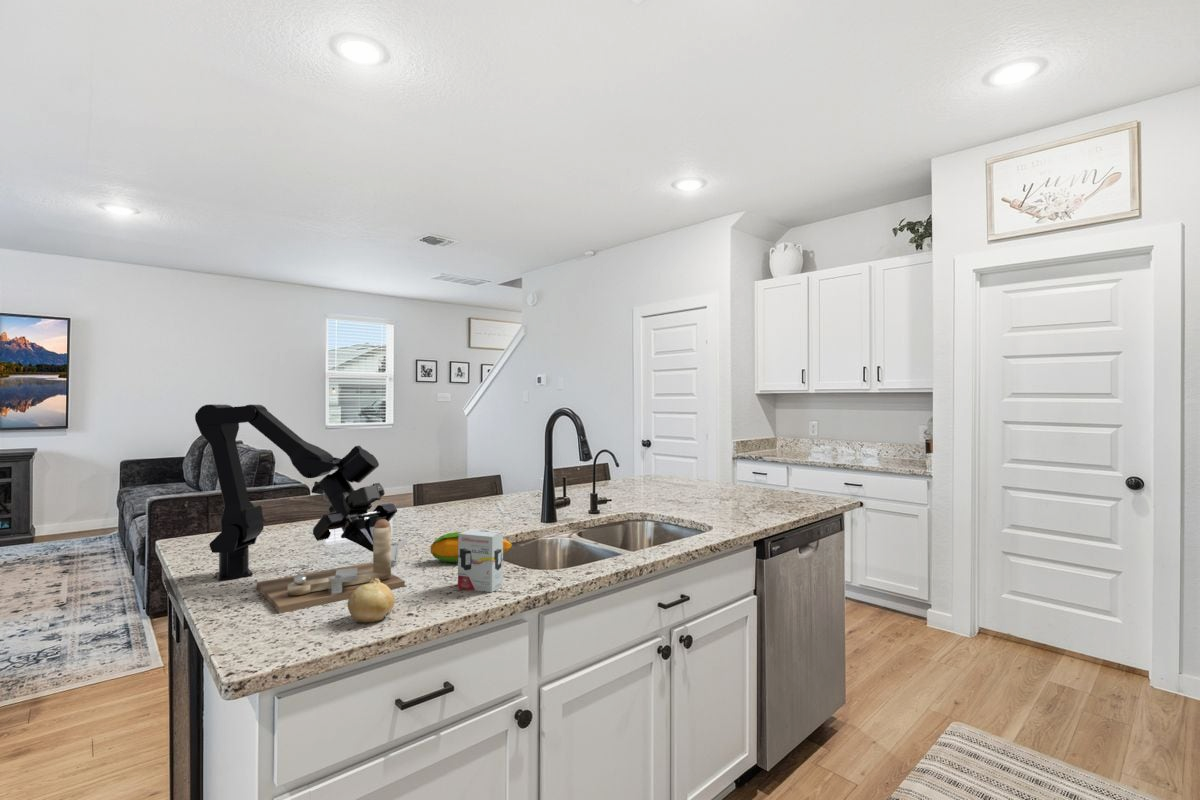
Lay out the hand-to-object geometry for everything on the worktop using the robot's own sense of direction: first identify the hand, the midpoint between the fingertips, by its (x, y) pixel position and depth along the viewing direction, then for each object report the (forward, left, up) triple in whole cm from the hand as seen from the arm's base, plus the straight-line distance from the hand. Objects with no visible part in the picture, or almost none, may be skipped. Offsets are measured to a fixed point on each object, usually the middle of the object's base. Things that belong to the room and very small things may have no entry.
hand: (375, 550), depth 126 cm
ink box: (+18, +16, -7) cm, 25 cm away
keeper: (+3, -10, -6) cm, 12 cm away
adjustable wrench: (-22, +12, -8) cm, 26 cm away
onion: (+21, -8, -7) cm, 23 cm away
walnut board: (-3, -8, -7) cm, 11 cm away
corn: (-3, +25, -7) cm, 26 cm away
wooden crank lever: (+1, -7, -6) cm, 9 cm away
